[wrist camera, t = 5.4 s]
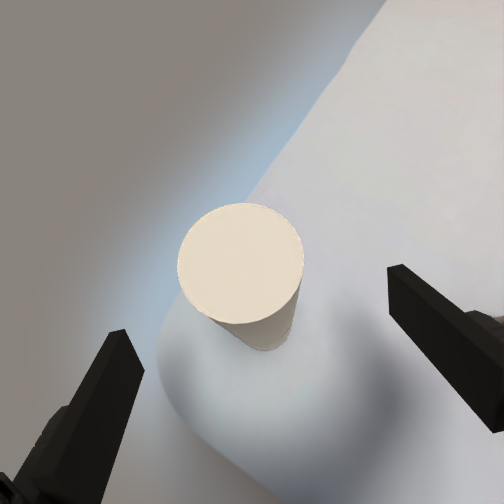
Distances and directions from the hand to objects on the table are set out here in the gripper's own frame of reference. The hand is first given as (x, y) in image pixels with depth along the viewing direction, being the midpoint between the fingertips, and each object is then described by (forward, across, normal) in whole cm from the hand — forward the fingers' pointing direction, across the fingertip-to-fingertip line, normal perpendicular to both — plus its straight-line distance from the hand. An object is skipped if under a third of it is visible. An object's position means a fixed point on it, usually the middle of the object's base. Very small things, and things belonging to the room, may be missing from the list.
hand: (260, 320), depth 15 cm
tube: (+8, 0, -6) cm, 10 cm away
